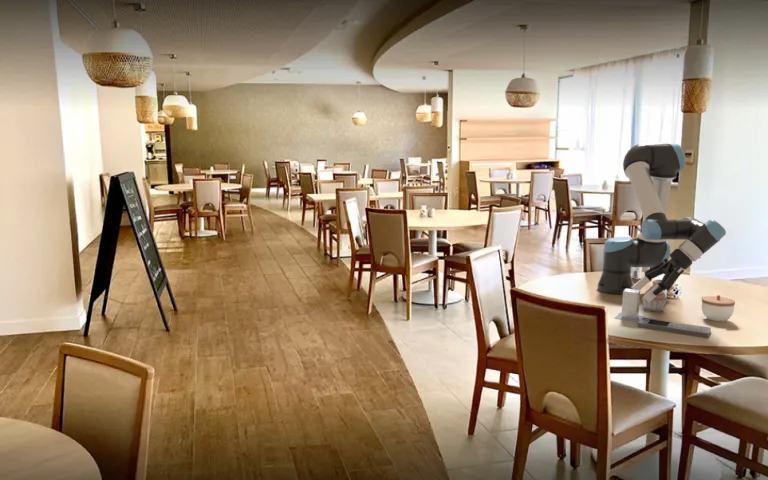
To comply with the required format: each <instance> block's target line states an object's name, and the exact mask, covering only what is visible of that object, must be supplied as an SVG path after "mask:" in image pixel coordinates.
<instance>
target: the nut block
mask: <svg viewBox="0 0 768 480" xmlns="http://www.w3.org/2000/svg"><path fill="white" fill-rule="evenodd" d="M640 297H641V290H633V289H625V290H624V291H623V294H622V301H621V302H622V304H621V313H622V316H621V318H627V319H634V320H636V319H637V318H638V316H639V314H640Z"/></svg>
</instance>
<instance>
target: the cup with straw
mask: <svg viewBox="0 0 768 480" xmlns="http://www.w3.org/2000/svg"><path fill="white" fill-rule="evenodd" d="M642 271H643V267H631V277H632V278H634V279H633V280H640V279H641V276H642ZM639 278H640V279H639Z"/></svg>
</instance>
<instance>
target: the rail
mask: <svg viewBox="0 0 768 480" xmlns="http://www.w3.org/2000/svg"><path fill="white" fill-rule="evenodd" d="M637 328H641V329H646V330H647V329H648V330H653V331H654V330H655V331H660V332H661V331H662V332H666V333H674V334H679V335H686V336H692V337H698V338H704V339H708V338H709V336H710V334H711V330H712V329H711V327H710V326H702V325H695V324H689V323H680V322H675V321H669V320H661V319H653V318H648V317H644V318H642V319H641V320H640V321H639V322H637Z"/></svg>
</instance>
